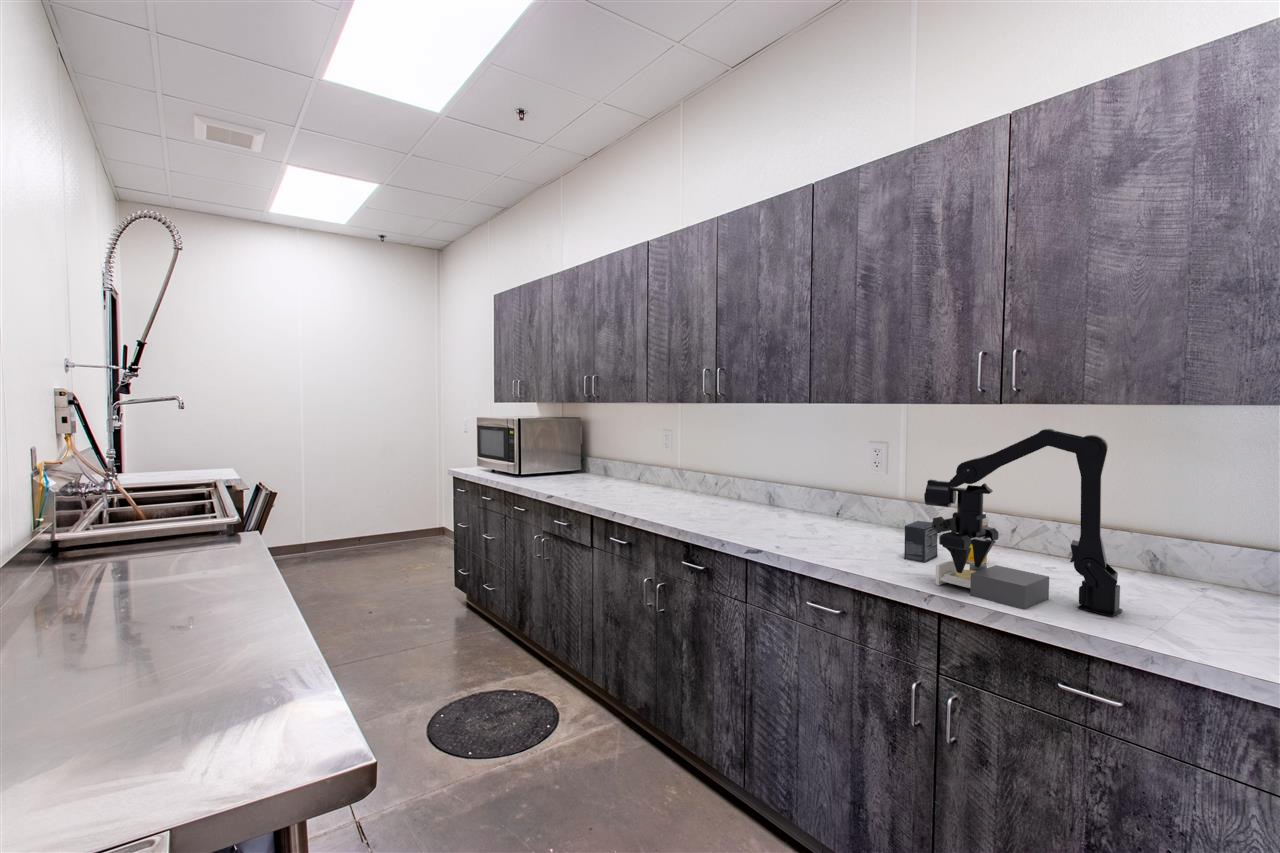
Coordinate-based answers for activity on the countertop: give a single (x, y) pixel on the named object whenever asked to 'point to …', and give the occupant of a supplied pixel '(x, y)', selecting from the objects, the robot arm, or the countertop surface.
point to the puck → (973, 568)
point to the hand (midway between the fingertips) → (968, 569)
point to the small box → (920, 542)
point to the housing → (1010, 586)
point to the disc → (964, 574)
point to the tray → (949, 575)
